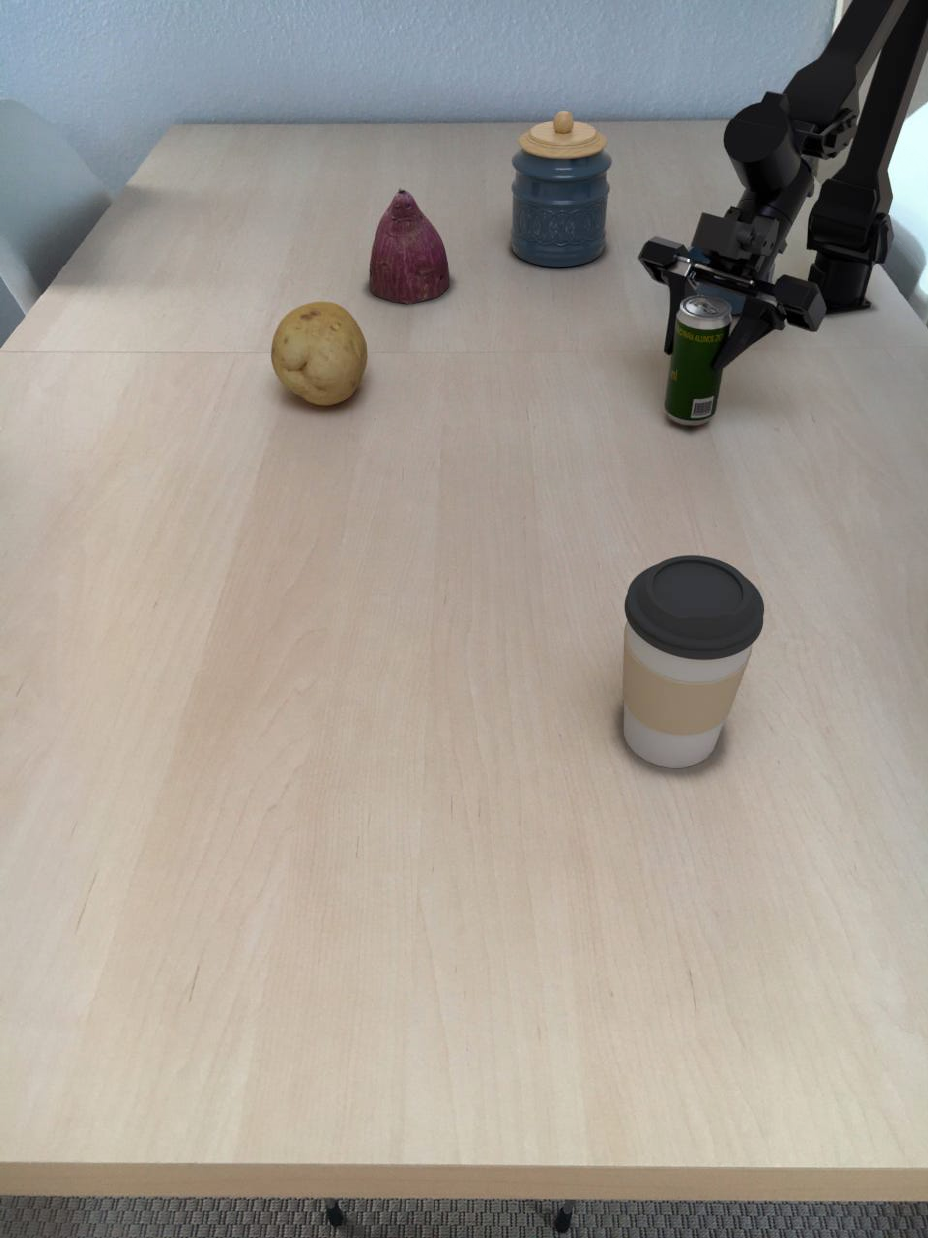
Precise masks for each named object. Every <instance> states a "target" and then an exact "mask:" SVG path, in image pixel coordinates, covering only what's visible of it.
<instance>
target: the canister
mask: <svg viewBox="0 0 928 1238" xmlns="http://www.w3.org/2000/svg"><path fill="white" fill-rule="evenodd" d="M607 144H608V140H607V138H606V137H605V135H603V134H602V133H600V132H599V131H597V130H596V128H595V127H594V126H592V125H590V124H589V123H585V122H583V121H582V122H581V121H577V120H574V117H573V114H572V113H571V112H570V111H567V110H561V111H558V112H557V113H556V114H555V115H554V118H553V119H552V120H551V121H545V122H541V123H538V124H536V125H534V126H532V127H531V128H530V130H528V131H525V132H524V133H523V134H521V136H520V137H519V139H518V146H519V147H520V149H519V150H517V152H515V153H514V154H513V156H512V158H511V164H512V167H513V168H514V169H515V177H514V180H513V181H512V182H511V192H512V211H511V212H512V219H511V221H512V222H511V223H512V224H511V229H510V242H511V245H512V250H513V253H514V254H515V256H517V257H518V258H519V259H521V260H523V261H525V262H527V263H530V264H532V265H537V266H542V267H548V268H549V267H550V268H568V267H569V268H570V267H577V266H580V265H585V264H587V263H590V262H592V261H594V260H595V259H597V258H598V257H600V256H601V254H602V253H603V251H604V246H605V245H606V240H607V239H606V236H607V230H606V224H607V222H606V221H607V211H608V199H609V193H610V190H611V185H610V183H609V181H608V171H609V169H611V167H612V164H613V159H612V157H611V155H610V154H609V153H608V151H606V150H604V149H606V147H607Z"/></svg>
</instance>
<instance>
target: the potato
mask: <svg viewBox="0 0 928 1238" xmlns="http://www.w3.org/2000/svg"><path fill="white" fill-rule="evenodd" d="M367 345H368V344H367V341H366V337H365V336H364V333H363V331H362V329H361V327H360V326H359V324H358V323H357V320H355V318H354V317H353V315H352V314H351V313H349V311H348V310H347V309H345V308H344V307H343V306H341V305H339V304H338V303H335V302H331V301H315V302H310V303H306V304H302V305H299V306H298V307H296V308H294V309H292V310H290V311H289V312H288V313H287V314H286V315H285V316H284V317H283V318H282V319H281V321H280V322H279V324H278V325H277V328H276V329H275V332H274V334H273V338H272V342H271V346H270V347H271V348H270V359H271V360H270V361H271V365H272V368H273V370H274V373H275V375H276V377H277V378H278V380H279V381H280V383H281V384H282V385H283V386H284V387H285V388H286V389H288V390H289V391H291V392H292V393H294V394H295V395H298V396H299V397H301V398H302V399H304V400H305V401H307V402H308V403H311V404H315V405H317V406H333V405H335V404H336V405H337V404H339V403H341V402H342V403H343V402H344V401H345V400H347V399H349V398H350V397H352V395H353V394H354V392H355V391H356V390H357V388H358V387H359V385H360V383H361V381H362V379H363V377H364V374H365V371H366V369H367V365H368V356H369V355H368V346H367Z"/></svg>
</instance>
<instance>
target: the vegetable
mask: <svg viewBox="0 0 928 1238" xmlns="http://www.w3.org/2000/svg"><path fill="white" fill-rule="evenodd" d="M369 262H370V263H369V281H368V282H369V291H370V292H371V294H372V295H374V296H376V297H378V298H379V299H384V300H387V301H388V302H389V301H390V302H393V303H398V304H399V303H400V304H404V305H406V304H416V303H420V302H421V303H422V302H424V301H425V302H426V301H429V300H432V299H436V298H437V297H439V296H441V295H442V294H443V293H444V292H445V291H446V290H448V288H449V287H450V282H451V281H450V269H449V262H448V256H447V251H446V248H445V244H444V242H443V239H442V238H441V236H440V234H439V232H438V231H437V229H436V227H435V226H434V225H433V223H432V222H431V221H430V219H429V218H428V216H427V215H425V214H424V212H423V211H422V210H421V208H420V207H419V205H418V204H417V202H416V200H415V197H414V196H413V195H412V194H411V193H410V192H409V191H407V190H405V189H403V188H402V187H398V191H397V192H396V194H395V195H394V196H393V198H392V200H391V202H390V204H389V206H388V207H387V208H386V209H385V211H384V212H383V214H382V216H381V217H380V220H379V222H378V224H377V226H376V230H375V235H374V239H373V244H372V246H371V253H370V261H369Z"/></svg>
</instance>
